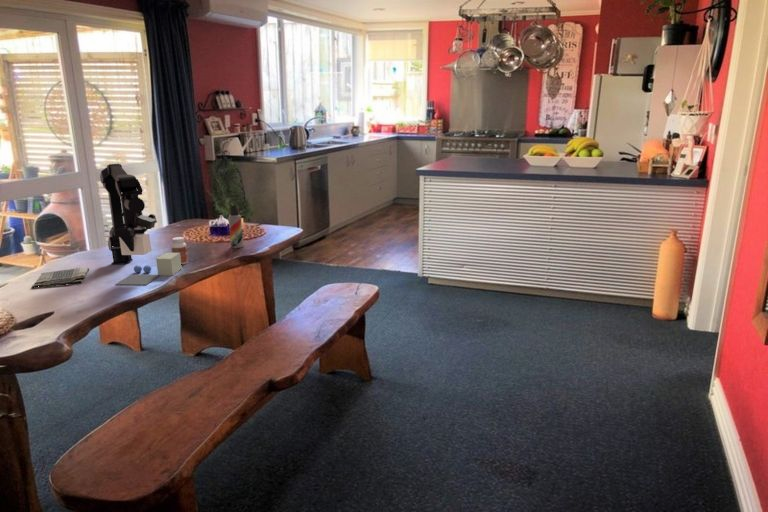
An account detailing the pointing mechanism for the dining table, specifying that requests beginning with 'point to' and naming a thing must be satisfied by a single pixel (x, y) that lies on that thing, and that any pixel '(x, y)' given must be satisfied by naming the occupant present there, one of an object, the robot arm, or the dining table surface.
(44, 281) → the dish towel
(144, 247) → the upright cream box
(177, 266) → the pale green block
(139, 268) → the marble
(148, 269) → the marble
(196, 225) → the dining table surface
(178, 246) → the pill bottle
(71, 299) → the dining table surface
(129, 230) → the robot arm
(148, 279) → the slate mat
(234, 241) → the lotion bottle
